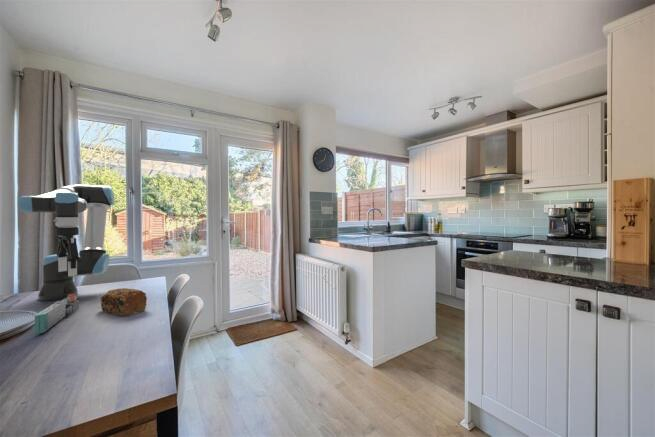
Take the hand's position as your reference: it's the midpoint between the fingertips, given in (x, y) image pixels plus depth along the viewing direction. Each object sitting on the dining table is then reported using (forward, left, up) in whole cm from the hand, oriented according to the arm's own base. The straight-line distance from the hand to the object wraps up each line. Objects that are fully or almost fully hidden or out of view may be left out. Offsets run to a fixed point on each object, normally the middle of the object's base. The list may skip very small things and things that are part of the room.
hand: (67, 273), depth 120 cm
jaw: (+15, +1, -17) cm, 23 cm away
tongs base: (+11, +1, -18) cm, 21 cm away
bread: (+8, +22, -18) cm, 30 cm away
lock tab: (-3, 0, -13) cm, 14 cm away
